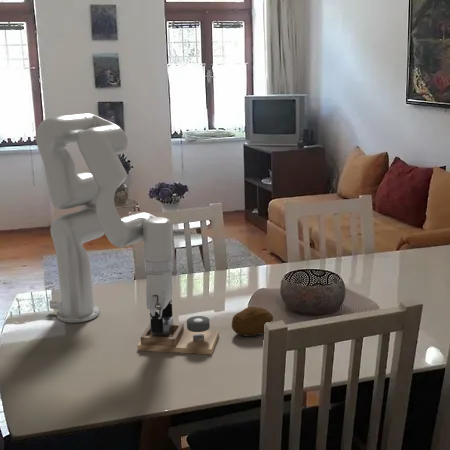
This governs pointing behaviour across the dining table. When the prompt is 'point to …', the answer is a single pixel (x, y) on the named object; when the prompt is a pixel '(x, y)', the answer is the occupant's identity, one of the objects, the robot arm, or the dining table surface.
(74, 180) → the robot arm
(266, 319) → the potato
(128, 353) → the dining table surface
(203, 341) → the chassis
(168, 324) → the grey stone cube
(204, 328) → the wheel
